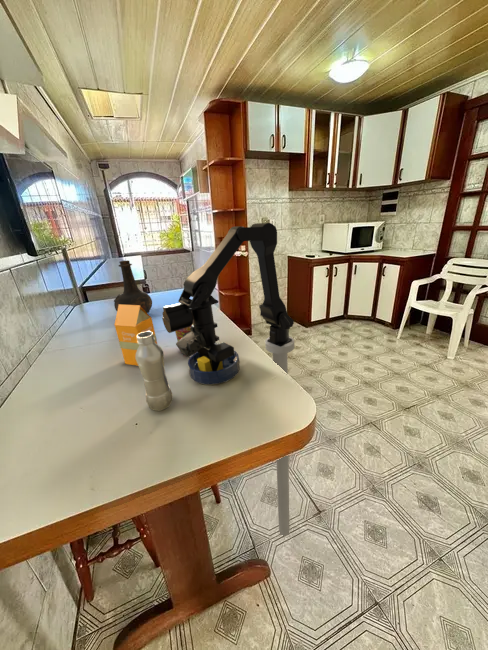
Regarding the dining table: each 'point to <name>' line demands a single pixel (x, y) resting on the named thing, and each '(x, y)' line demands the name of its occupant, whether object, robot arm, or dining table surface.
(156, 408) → the plastic bottle
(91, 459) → the dining table surface
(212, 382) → the bowl
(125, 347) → the orange juice
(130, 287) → the glass bottle
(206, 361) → the sponge
